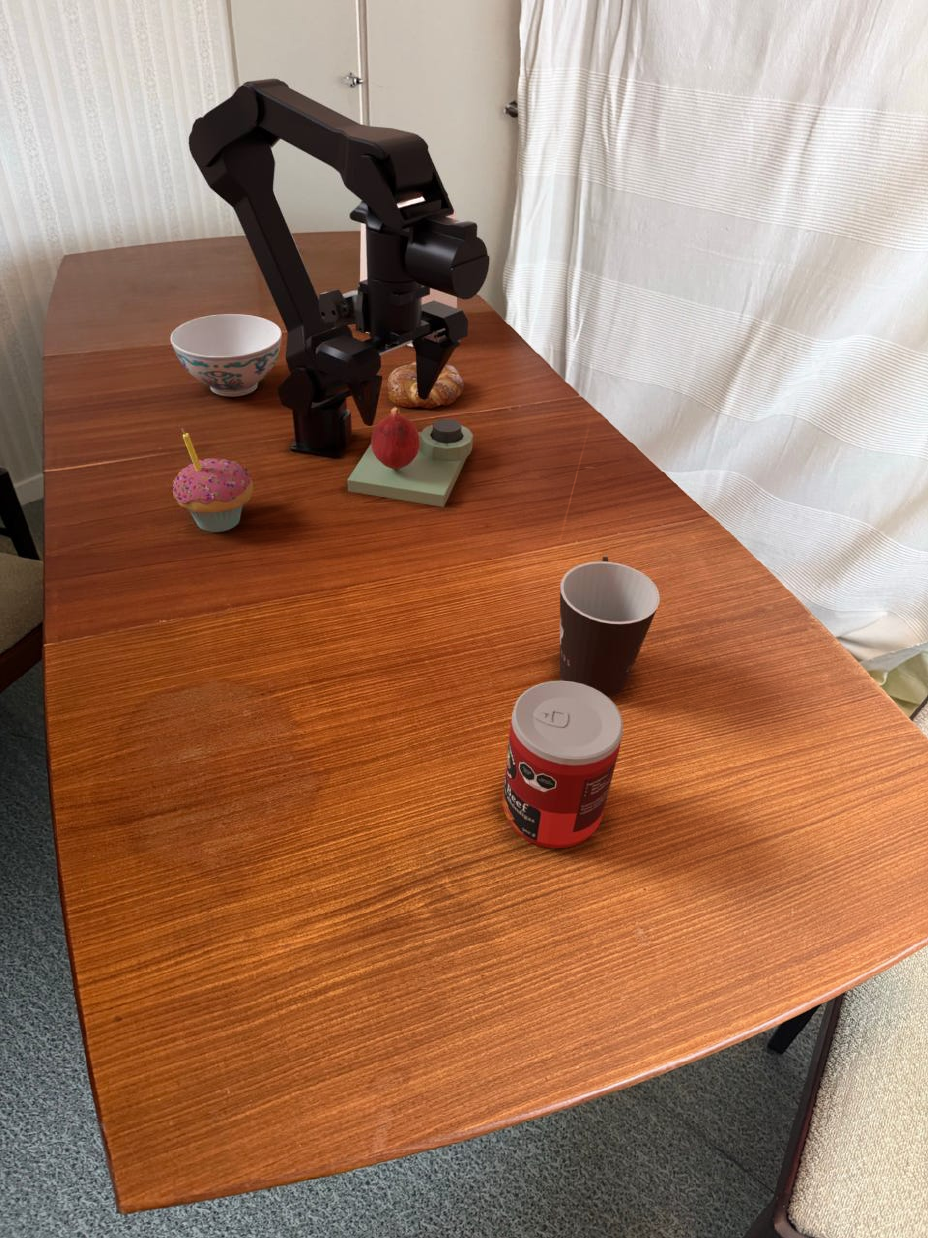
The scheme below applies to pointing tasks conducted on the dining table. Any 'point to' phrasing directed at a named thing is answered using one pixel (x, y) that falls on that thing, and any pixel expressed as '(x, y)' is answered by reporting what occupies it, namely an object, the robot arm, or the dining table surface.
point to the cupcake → (212, 490)
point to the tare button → (446, 431)
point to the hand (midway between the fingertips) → (396, 411)
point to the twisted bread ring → (406, 392)
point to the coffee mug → (604, 623)
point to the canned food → (560, 762)
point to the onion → (395, 440)
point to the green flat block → (415, 471)
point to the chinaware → (228, 351)
